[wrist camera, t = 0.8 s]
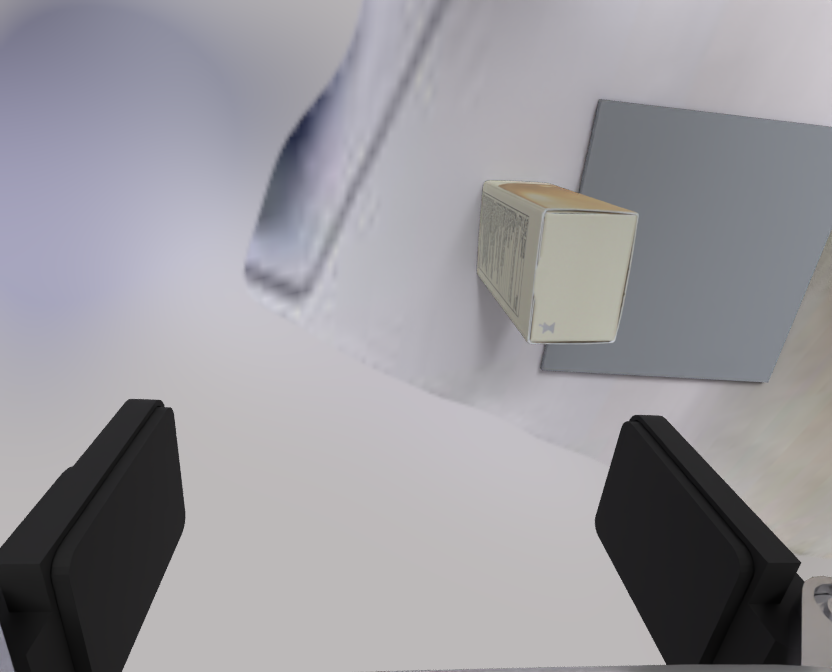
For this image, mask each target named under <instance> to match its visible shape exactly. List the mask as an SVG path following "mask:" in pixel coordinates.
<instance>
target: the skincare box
mask: <svg viewBox="0 0 832 672" xmlns="http://www.w3.org/2000/svg"><path fill="white" fill-rule="evenodd" d="M638 218H639V214H638V213H637V212H634V211H631V210H628V209H625V208H621V207H618V206H615V205H612V204H610V203H607V202H604V201H601V200H598V199H595V198H592V197H589V196H585V195H583V194H580V193H577V192H573V191H570V190H567V189H564V188H561V187H558V186H555V185H552V184H549V183H541V182H523V181H493V180H488V181H485V182H484V185H483V193H482V202H481V213H480V225H479V239H478V258H477V274H478V276H479V277H480V278H481V280H482V281H483V283H484V284H485V285H486V287H487V288H488V289H489V291H490V292H491V293H492V295H493V296H494V298H495V299H496V300H497V301H498V303H499V304H500V306H501V307H502V308H503V310H504V311H505V313H506V314H507V315H508V317H509V318H510V320H511V321H512V322H513V324H514V325H515V326H516V328H517V329H518V330H519V332H520V333H521V334H522V336H523V337H524V339H525V340H526V341H527V342H528V343H529V344H600V343H613V342H614V341H615V339H616V336H617V332H618V329H619V324H620V320H621V315H622V311H623V306H624V301H625V296H626V290H627V285H628V279H629V274H630V268H631V262H632V256H633V251H634V244H635V238H636V230H637V224H638Z"/></svg>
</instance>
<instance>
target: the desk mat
mask: <svg viewBox="0 0 832 672" xmlns="http://www.w3.org/2000/svg"><path fill="white" fill-rule="evenodd" d="M579 193H580V194H583V195H585V196H589V197H592V198H595V199H598V200H601V201H604V202H607V203H610V204H612V205H615V206H618V207H621V208H625V209H628V210H631V211H634V212H637V213H638V214H639V218H638V224H637V230H636V238H635V244H634V251H633V256H632V262H631V268H630V274H629V279H628V285H627V290H626V296H625V301H624V306H623V311H622V315H621V320H620V324H619V329H618V332H617V336H616V339H615V341H614V342H613V343H600V344H546V346H545V351H544V355H543V360H542V364H541V369H542V370H546V371H565V372H583V373H602V374H621V375H639V376H658V377H677V378H696V379H714V380H733V381H752V382H769V379H770V377H771V374H772V372H773V370H774V367H775V365H776V362H777V360H778V358H779V355H780V353H781V350H782V348H783V345H784V343H785V341H786V338H787V336H788V333H789V331H790V329H791V326H792V324H793V321H794V319H795V316H796V314H797V312H798V309H799V307H800V304H801V302H802V299H803V297H804V295H805V292H806V290H807V287H808V285H809V283H810V280H811V278H812V275H813V273H814V270H815V268H816V266H817V263H818V261H819V258H820V256H821V254H822V251H823V249H824V246H825V244H826V241H827V239H828V237H829V234H830V232H831V229H832V127H829V126H820V125H812V124H804V123H795V122H787V121H778V120H770V119H762V118H753V117H745V116H736V115H728V114H720V113H711V112H703V111H695V110H686V109H678V108H669V107H661V106H653V105H644V104H636V103H628V102H619V101H611V100H602V99H601V100H599V103H598V107H597V112H596V117H595V121H594V126H593V130H592V135H591V140H590V144H589V149H588V153H587V158H586V163H585V167H584V172H583V176H582V181H581V185H580V190H579Z"/></svg>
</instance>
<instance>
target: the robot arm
mask: <svg viewBox="0 0 832 672" xmlns="http://www.w3.org/2000/svg"><path fill="white" fill-rule="evenodd" d="M184 524H185V507H184V497H183V489H182V480H181V471H180V463H179V454H178V446H177V437H176V428H175V420H174V413H173V410H172V408H168V407H164V404H163V402H162V401H161V400H148V399H145V400H144V399H129V400H127V401H126V402H125V403H124V405H123V406H122V407H121V408H120V410H119V411H118V412H117V413H116V414H115V416H114V417H113V418H112V420H111V421H110V422H109V423H108V424H107V426H106V427H105V428H104V429H103V430H102V432H101V433H100V434H99V435H98V437H97V438H96V439H95V440H94V441H93V443H92V444H91V445H90V446H89V448H88V449H87V450H86V451H85V452H84V454H83V455H82V456H81V457H80V458H79V460H78V461H77V462H76V463H75V465H74V466H73V467H69V468H68V469H67V470H65V471H64V472H63V473H62V474H61V476H60V477H59V478H58V479H57V480H56V481H55V483H54V484H53V485H52V486H51V488H50V489H49V490H48V491H47V492H46V493H45V495H44V496H43V497H42V498H41V500H40V501H39V502H38V503H37V504H36V506H35V507H34V508H33V509H32V510H31V512H30V513H29V514H28V515H27V516H26V518H25V519H24V520H23V521H22V522H21V524H20V525H19V526H18V527H17V528H16V530H15V531H14V532H13V533H12V534H11V536H10V537H9V538H8V539H7V540H6V542H5V543H4V544H3V545H2V546H1V548H0V672H122V670H123V668H124V665H125V663H126V661H127V659H128V656H129V654H130V652H131V649H132V647H133V645H134V642H135V640H136V638H137V636H138V633H139V631H140V629H141V626H142V624H143V622H144V619H145V617H146V615H147V613H148V610H149V608H150V605H151V603H152V601H153V599H154V597H155V594H156V592H157V589H158V587H159V585H160V583H161V580H162V578H163V576H164V573H165V571H166V569H167V567H168V564H169V562H170V560H171V558H172V555H173V553H174V551H175V548H176V546H177V544H178V541H179V539H180V537H181V535H182V532H183V529H184ZM595 527H596V531H597V534H598V536H599V538H600V540H601V542H602V544H603V546H604V548H605V550H606V552H607V553H608V555H609V557H610V559H611V561H612V563H613V565H614V566H615V568H616V570H617V572H618V574H619V576H620V578H621V580H622V582H623V583H624V585H625V587H626V589H627V591H628V593H629V595H630V597H631V599H632V600H633V602H634V604H635V606H636V608H637V610H638V612H639V613H640V615H641V617H642V619H643V621H644V623H645V625H646V627H647V629H648V631H649V632H650V634H651V636H652V638H653V640H654V642H655V644H656V646H657V648H658V649H659V651H660V653H661V655H662V657H663V659H664V661H665V662H666V665H643V666H592V667H591V666H590V667H538V668H501V669H500V668H497V669H455V670H421V671H420V670H416V671H380V672H832V577H826V576H817V577H811V578H809V579H808V580H806V581H805V582H804V581H803V580H802V579H801V577H800V576H799V575H798V574H797V573H796V572H797V570H798V568H799V566H800V564H801V562H800V561H799V560H798V559H797V558H796V557H795V555H794V554H793V553H792V552H791V551H790V550H789V549H788V548H787V547H786V546H785V545H784V544H783V543H782V542H781V541H780V540H779V538H778V537H777V536H776V535H775V534H774V533H773V532H772V531H771V530H770V529H769V528H768V527H767V526H766V525H765V524H764V523H763V522H762V520H761V519H760V518H759V517H758V516H757V515H756V514H755V513H754V512H753V511H752V510H751V509H750V508H749V507H748V506H747V505H746V503H745V502H744V501H743V500H742V499H741V498H740V497H739V496H738V495H737V494H736V493H735V492H734V491H733V490H732V489H731V488H730V487H729V485H728V484H727V483H726V482H725V481H724V480H723V479H722V478H721V477H720V476H719V475H718V474H717V473H716V472H715V471H714V470H713V468H712V467H711V466H710V465H709V464H708V463H707V462H706V461H705V460H704V459H703V458H702V457H701V456H700V455H699V454H698V453H697V452H696V450H695V449H694V448H693V447H692V446H691V445H690V444H689V443H688V442H687V441H686V440H685V439H684V438H683V437H682V436H681V435H680V433H679V432H678V431H677V430H676V429H675V428H674V427H673V426H672V425H671V424H670V423H669V422H668V421H667V420H666V419H665V418H664V417H663V416H653V415H634V416H632V418H631V419H630V420H629V421H627V422H625V423H624V424H623V425H622V428H621V431H620V434H619V438H618V441H617V445H616V448H615V452H614V455H613V458H612V462H611V465H610V469H609V472H608V476H607V479H606V482H605V486H604V489H603V493H602V496H601V500H600V503H599V506H598V510H597V514H596V517H595ZM378 672H379V671H378Z"/></svg>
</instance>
